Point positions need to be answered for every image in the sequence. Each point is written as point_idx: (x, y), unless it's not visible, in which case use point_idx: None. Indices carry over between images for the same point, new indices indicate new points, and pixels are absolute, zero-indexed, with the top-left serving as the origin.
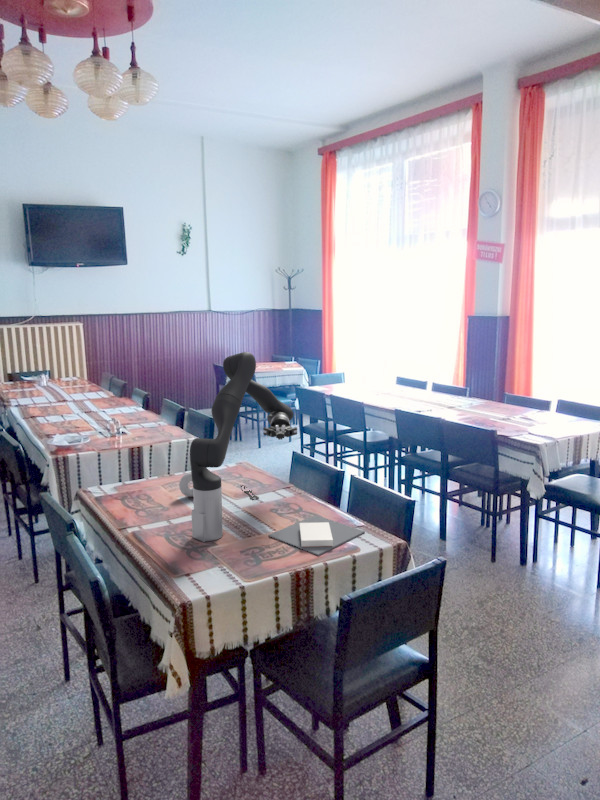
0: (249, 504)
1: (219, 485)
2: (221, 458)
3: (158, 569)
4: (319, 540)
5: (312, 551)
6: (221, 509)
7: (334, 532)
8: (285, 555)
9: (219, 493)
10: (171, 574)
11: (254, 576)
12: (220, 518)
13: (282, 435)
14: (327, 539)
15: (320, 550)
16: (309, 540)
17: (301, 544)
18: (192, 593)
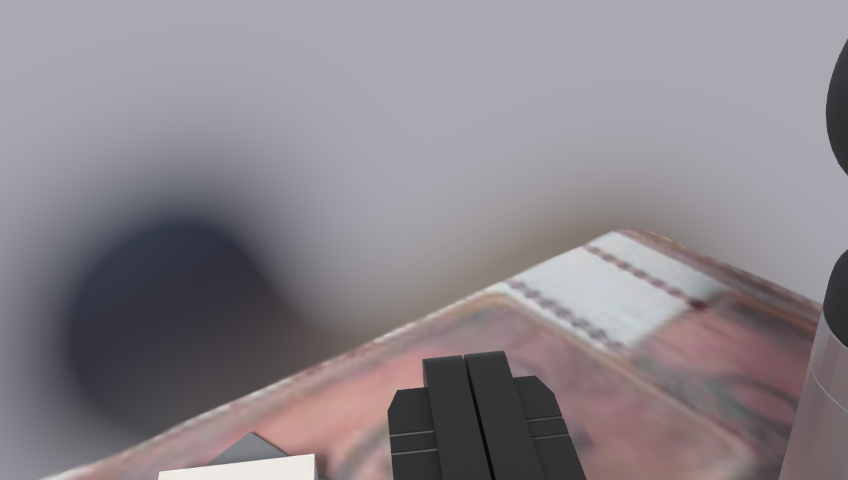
0: None
1: (826, 301)
2: (830, 99)
3: (818, 318)
4: (226, 465)
5: (271, 450)
6: (797, 452)
7: None
8: None
9: (815, 345)
10: (750, 301)
11: (480, 314)
12: (782, 474)
13: (422, 404)
14: (185, 473)
15: (234, 460)
16: (275, 459)
17: (316, 468)
18: (625, 247)
